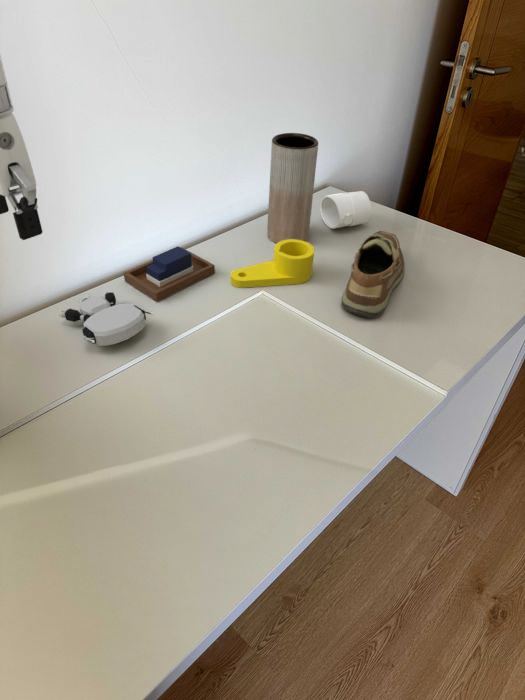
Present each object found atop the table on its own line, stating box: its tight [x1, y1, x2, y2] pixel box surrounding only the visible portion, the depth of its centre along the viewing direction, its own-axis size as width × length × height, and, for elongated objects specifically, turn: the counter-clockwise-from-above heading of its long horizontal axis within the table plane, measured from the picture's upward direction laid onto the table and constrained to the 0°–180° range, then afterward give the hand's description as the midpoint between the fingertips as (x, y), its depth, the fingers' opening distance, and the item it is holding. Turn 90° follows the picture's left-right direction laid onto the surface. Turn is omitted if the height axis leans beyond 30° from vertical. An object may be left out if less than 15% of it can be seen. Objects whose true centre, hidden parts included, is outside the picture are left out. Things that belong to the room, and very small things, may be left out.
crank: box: [230, 239, 315, 289], centre depth 111 cm, size 18×8×6 cm, turn 110°
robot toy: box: [58, 290, 155, 347], centre depth 96 cm, size 12×4×15 cm
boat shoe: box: [341, 230, 405, 319], centre depth 109 cm, size 11×29×11 cm, turn 162°
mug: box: [320, 190, 372, 230], centre depth 132 cm, size 12×9×8 cm
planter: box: [266, 132, 319, 244], centre depth 120 cm, size 10×10×23 cm
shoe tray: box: [123, 247, 216, 303], centre depth 110 cm, size 16×11×2 cm
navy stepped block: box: [146, 245, 193, 287], centre depth 109 cm, size 9×4×4 cm, turn 137°
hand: (14, 224), depth 77 cm, fingers open, 9 cm apart
